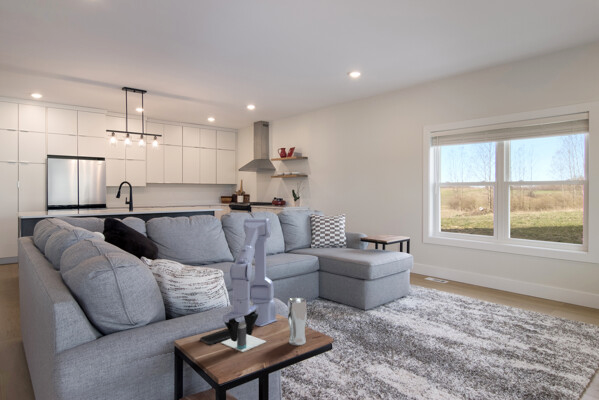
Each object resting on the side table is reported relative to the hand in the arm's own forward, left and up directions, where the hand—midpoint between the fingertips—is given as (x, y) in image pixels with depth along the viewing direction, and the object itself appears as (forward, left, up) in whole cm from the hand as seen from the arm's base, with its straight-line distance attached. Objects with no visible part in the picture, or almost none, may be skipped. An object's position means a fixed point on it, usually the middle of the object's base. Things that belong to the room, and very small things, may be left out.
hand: (241, 337), depth 123 cm
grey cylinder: (0, 0, -3) cm, 3 cm away
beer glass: (-16, +12, -4) cm, 20 cm away
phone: (-2, -14, -4) cm, 14 cm away
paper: (-4, -3, -4) cm, 6 cm away
